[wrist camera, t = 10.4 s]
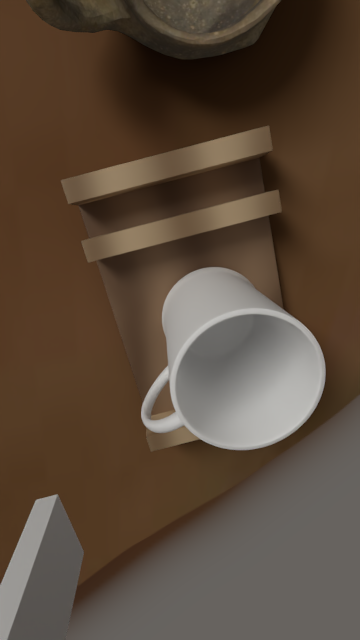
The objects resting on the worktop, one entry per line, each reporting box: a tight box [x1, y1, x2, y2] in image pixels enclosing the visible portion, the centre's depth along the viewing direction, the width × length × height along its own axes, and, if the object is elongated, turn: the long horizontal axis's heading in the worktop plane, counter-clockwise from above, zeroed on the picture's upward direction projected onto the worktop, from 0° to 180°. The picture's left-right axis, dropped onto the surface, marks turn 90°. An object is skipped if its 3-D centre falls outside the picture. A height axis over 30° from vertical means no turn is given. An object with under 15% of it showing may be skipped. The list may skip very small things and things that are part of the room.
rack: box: [61, 126, 284, 451], centre depth 27 cm, size 14×22×4 cm, turn 14°
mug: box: [141, 267, 326, 450], centre depth 23 cm, size 12×8×12 cm
